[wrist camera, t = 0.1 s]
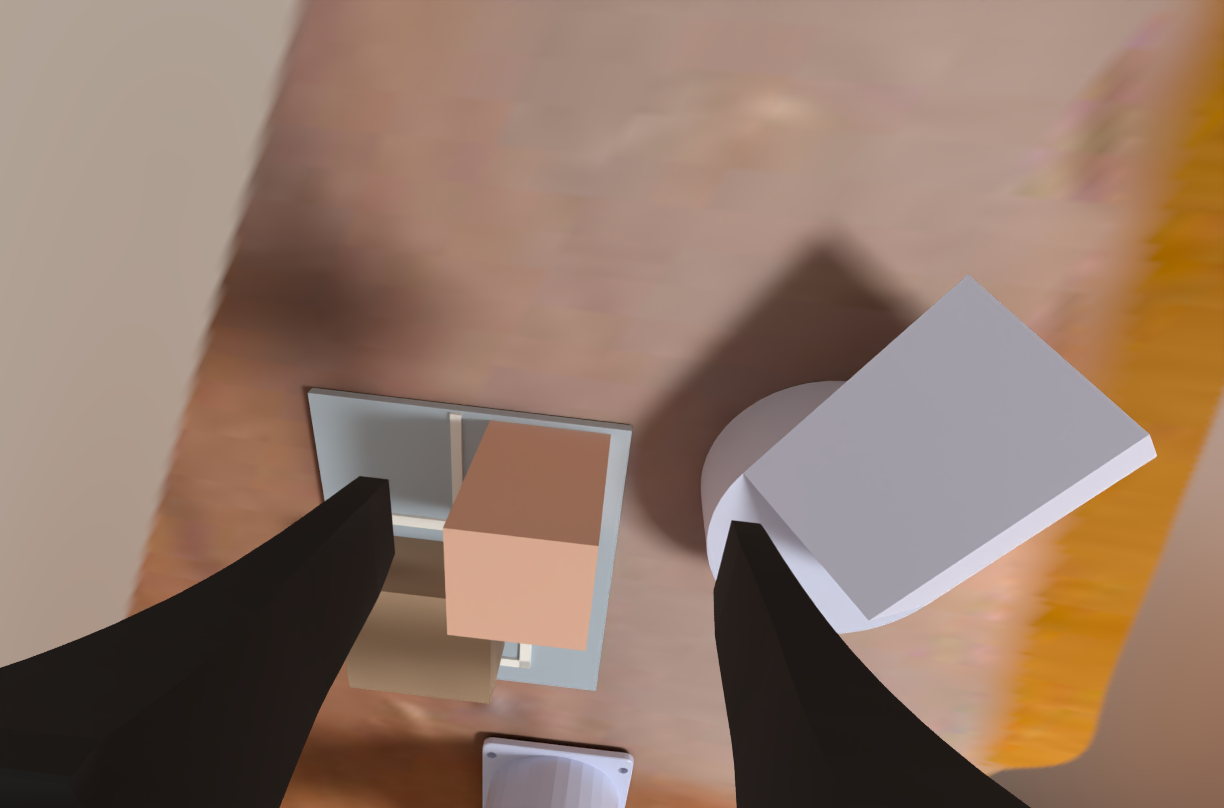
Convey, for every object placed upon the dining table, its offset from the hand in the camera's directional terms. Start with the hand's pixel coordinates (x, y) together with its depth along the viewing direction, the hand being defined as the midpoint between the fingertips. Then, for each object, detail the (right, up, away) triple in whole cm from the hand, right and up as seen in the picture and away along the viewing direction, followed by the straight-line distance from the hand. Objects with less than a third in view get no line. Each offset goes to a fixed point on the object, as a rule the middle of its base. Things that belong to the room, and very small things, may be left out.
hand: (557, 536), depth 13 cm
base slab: (-6, -5, +15) cm, 17 cm away
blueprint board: (-5, -4, +14) cm, 15 cm away
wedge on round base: (+10, +1, +11) cm, 15 cm away
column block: (-1, 0, +11) cm, 11 cm away
